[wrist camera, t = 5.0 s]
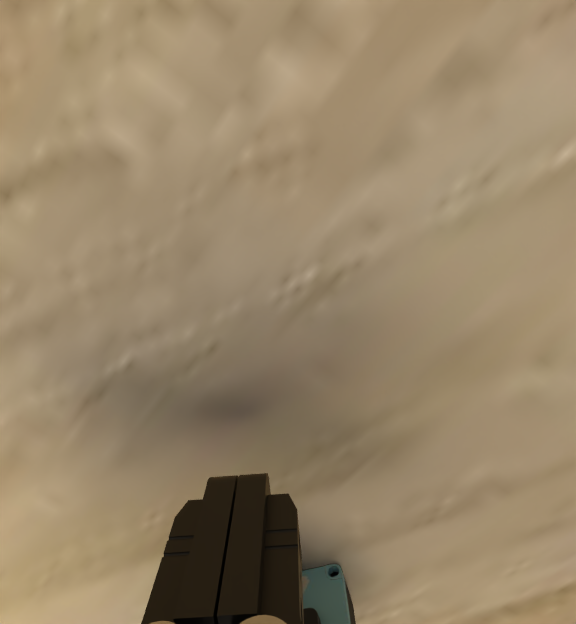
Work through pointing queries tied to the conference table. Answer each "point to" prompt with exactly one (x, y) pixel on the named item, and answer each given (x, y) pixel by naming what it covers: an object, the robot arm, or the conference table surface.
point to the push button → (326, 596)
